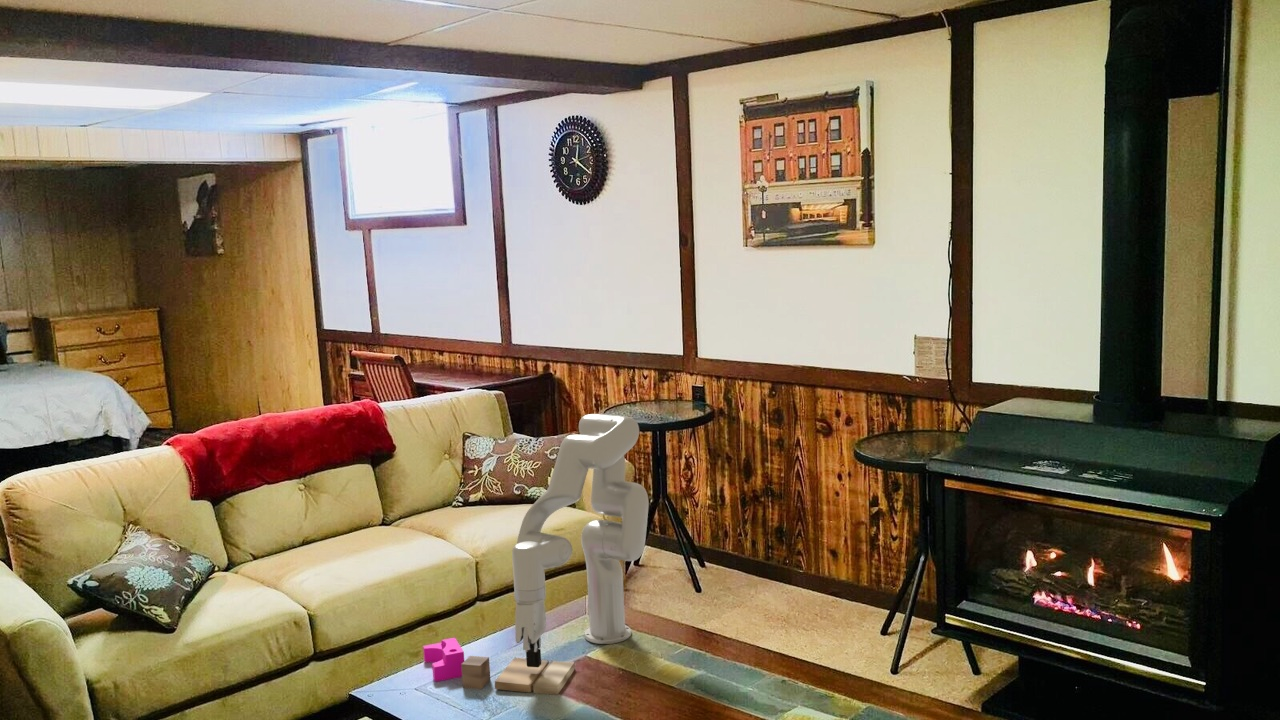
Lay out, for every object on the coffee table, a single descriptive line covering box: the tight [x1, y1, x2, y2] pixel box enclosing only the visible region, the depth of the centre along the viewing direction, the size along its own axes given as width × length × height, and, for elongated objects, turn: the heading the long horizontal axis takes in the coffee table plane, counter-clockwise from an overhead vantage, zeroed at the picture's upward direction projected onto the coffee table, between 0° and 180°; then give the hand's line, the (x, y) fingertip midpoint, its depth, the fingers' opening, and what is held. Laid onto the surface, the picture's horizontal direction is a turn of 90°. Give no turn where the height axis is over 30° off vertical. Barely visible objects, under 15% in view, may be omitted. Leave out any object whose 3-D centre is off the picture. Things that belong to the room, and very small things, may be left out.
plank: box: [494, 657, 550, 693], centre depth 252 cm, size 14×9×2 cm, turn 167°
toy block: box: [422, 637, 465, 682], centre depth 261 cm, size 15×6×8 cm
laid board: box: [532, 660, 576, 696], centre depth 250 cm, size 14×6×2 cm, turn 167°
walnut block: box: [461, 655, 491, 690], centre depth 250 cm, size 5×5×6 cm
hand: (534, 665), depth 251 cm, fingers closed
